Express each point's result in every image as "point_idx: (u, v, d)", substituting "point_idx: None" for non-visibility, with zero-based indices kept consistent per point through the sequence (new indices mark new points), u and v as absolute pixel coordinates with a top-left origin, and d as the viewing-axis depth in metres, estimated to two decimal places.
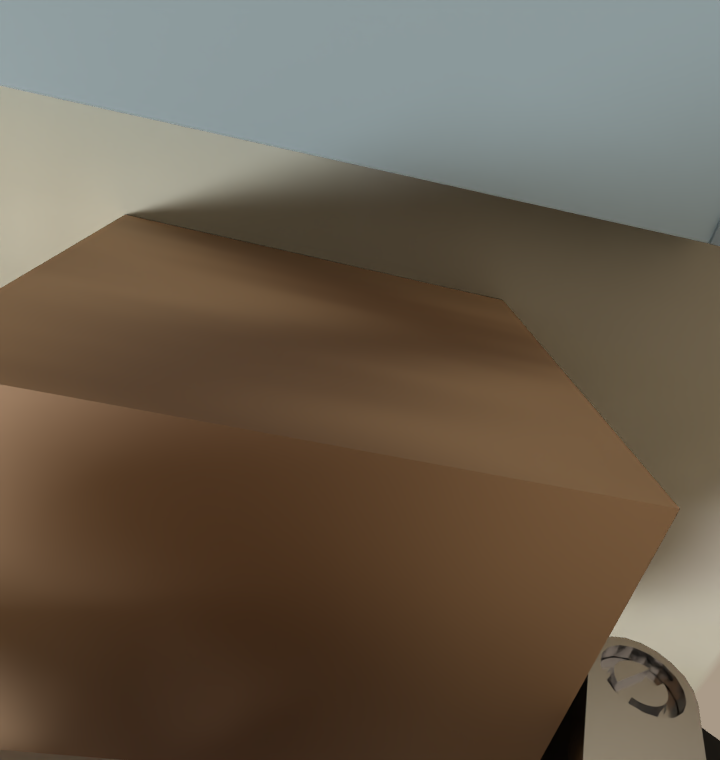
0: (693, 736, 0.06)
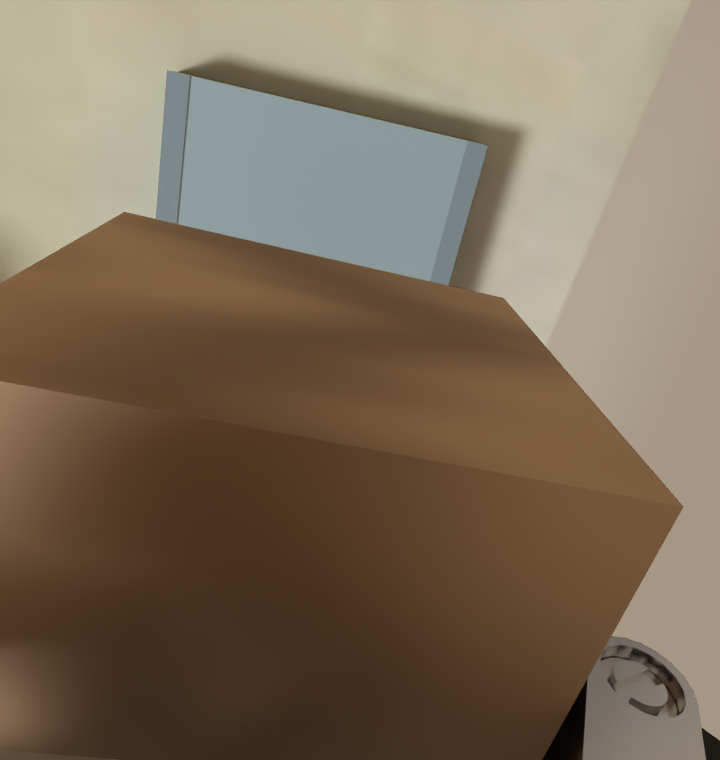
0: (692, 736, 0.06)
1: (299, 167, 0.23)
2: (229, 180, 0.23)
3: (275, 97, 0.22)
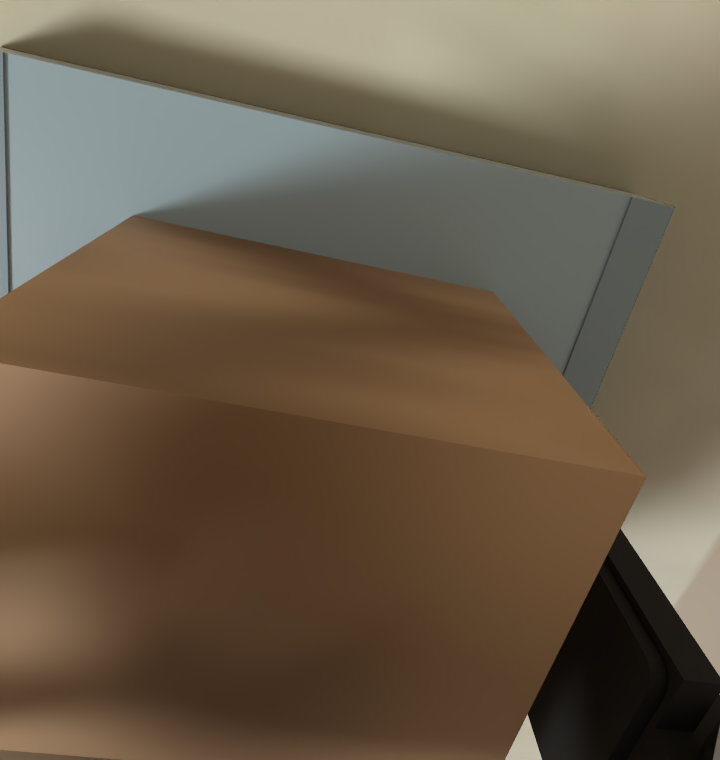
0: None
1: None
2: None
3: (207, 102, 0.10)
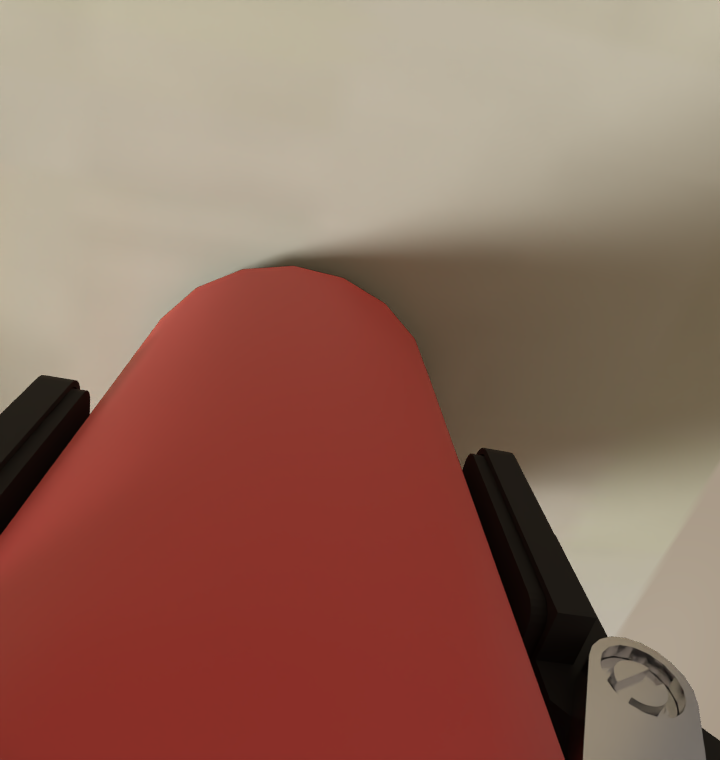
0: (693, 736, 0.06)
1: None
2: None
3: None
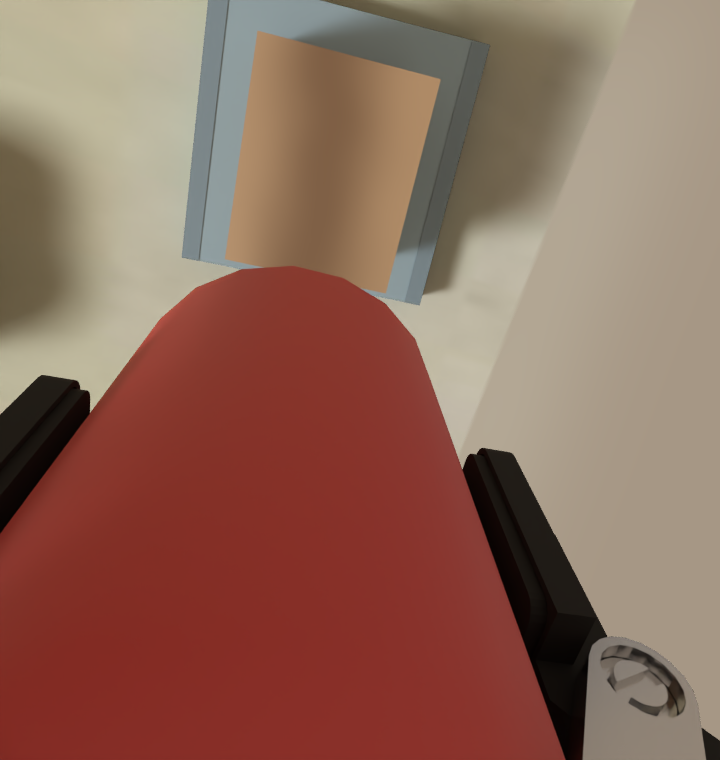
0: (692, 736, 0.06)
1: None
2: None
3: None
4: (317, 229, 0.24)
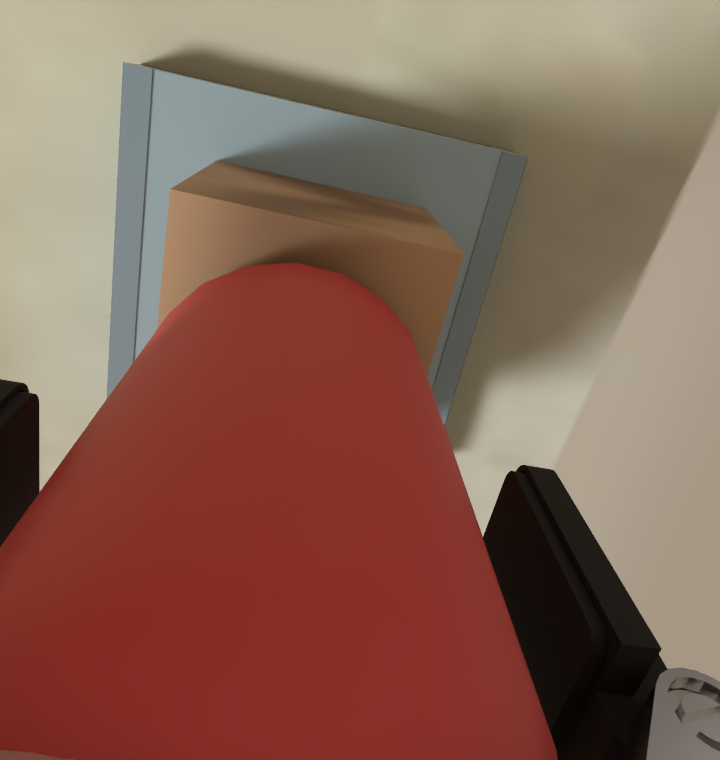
0: None
1: None
2: None
3: (261, 96, 0.18)
4: None
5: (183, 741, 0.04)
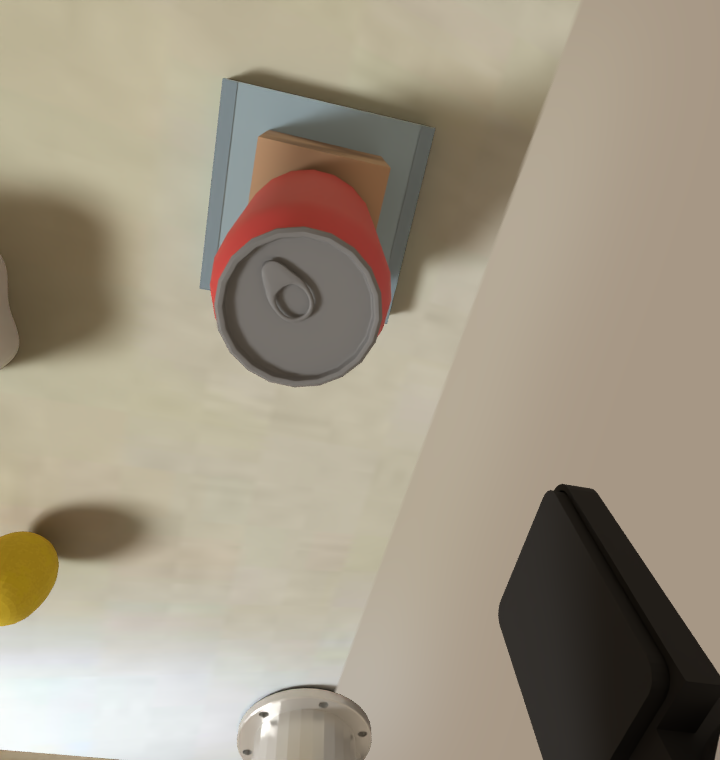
0: None
1: None
2: None
3: (293, 95, 0.34)
4: None
5: (300, 217, 0.20)
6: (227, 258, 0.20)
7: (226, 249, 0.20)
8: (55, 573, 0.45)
